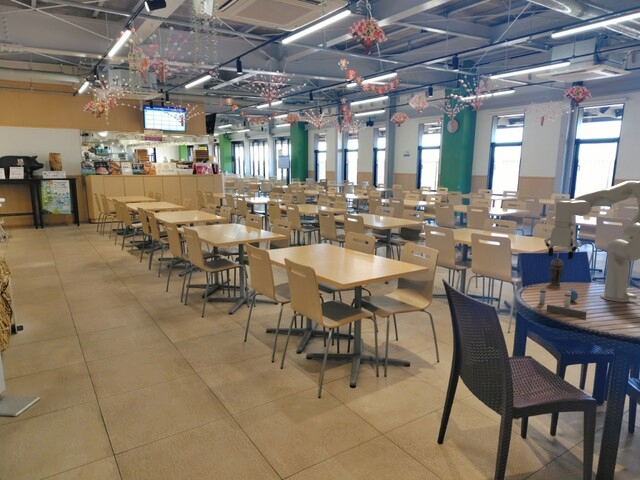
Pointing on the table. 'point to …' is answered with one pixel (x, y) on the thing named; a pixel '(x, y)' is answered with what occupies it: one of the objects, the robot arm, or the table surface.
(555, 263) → the beverage cup
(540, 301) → the grey pin
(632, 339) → the table surface
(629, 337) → the table surface
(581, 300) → the table surface
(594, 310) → the table surface
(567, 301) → the cream pin
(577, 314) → the back wall
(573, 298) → the ball
